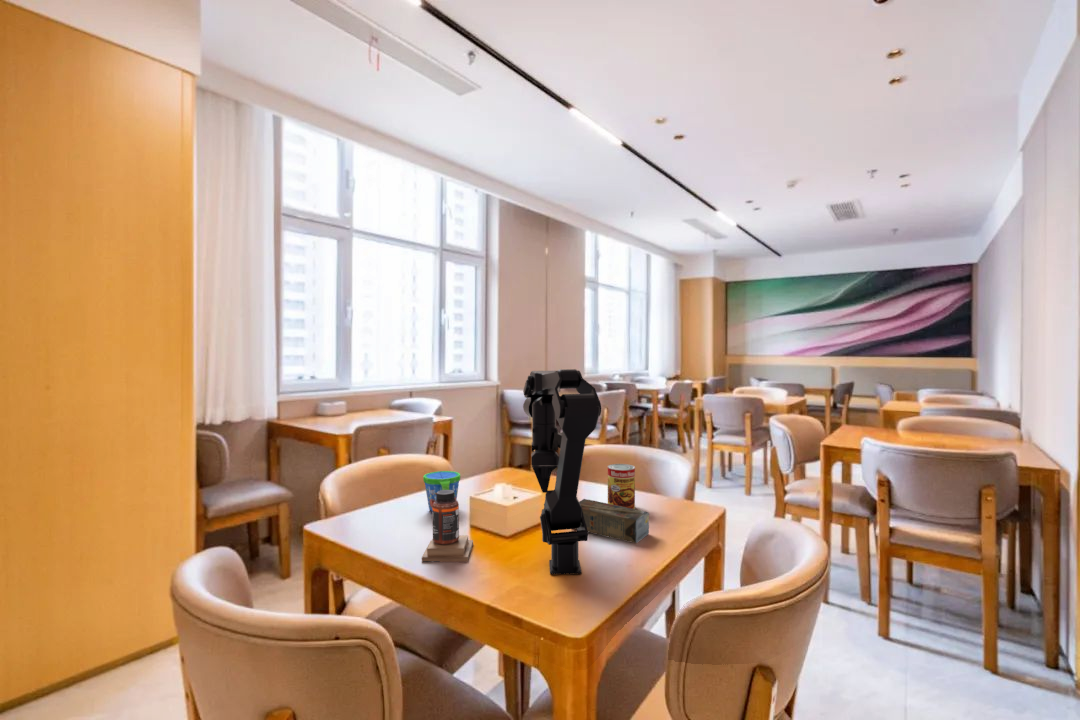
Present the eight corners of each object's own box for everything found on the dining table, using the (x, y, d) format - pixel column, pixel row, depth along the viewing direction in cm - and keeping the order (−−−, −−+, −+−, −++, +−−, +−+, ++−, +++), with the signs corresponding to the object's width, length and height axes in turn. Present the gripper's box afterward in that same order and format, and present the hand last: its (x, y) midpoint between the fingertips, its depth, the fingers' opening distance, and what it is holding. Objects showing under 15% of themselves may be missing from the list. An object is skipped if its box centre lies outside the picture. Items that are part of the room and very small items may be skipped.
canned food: (613, 512, 147) (613, 470, 147) (603, 504, 155) (603, 464, 155) (639, 510, 149) (639, 468, 149) (628, 502, 157) (628, 463, 156)
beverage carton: (636, 545, 123) (636, 517, 123) (567, 529, 134) (567, 504, 134) (649, 535, 130) (649, 508, 130) (583, 521, 141) (583, 496, 141)
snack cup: (423, 503, 157) (423, 469, 157) (458, 500, 159) (458, 467, 159) (423, 519, 142) (423, 482, 141) (462, 516, 144) (462, 480, 144)
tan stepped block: (467, 561, 113) (467, 550, 113) (421, 561, 113) (421, 550, 113) (473, 544, 123) (473, 533, 123) (430, 544, 123) (430, 534, 123)
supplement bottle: (464, 540, 119) (464, 491, 119) (444, 548, 115) (444, 496, 114) (447, 534, 123) (447, 486, 123) (427, 541, 118) (426, 492, 118)
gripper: (581, 428, 116) (581, 498, 116) (574, 417, 135) (574, 477, 135) (531, 428, 116) (531, 498, 116) (531, 417, 134) (531, 477, 135)
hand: (544, 487), depth 125 cm, fingers open, 9 cm apart
